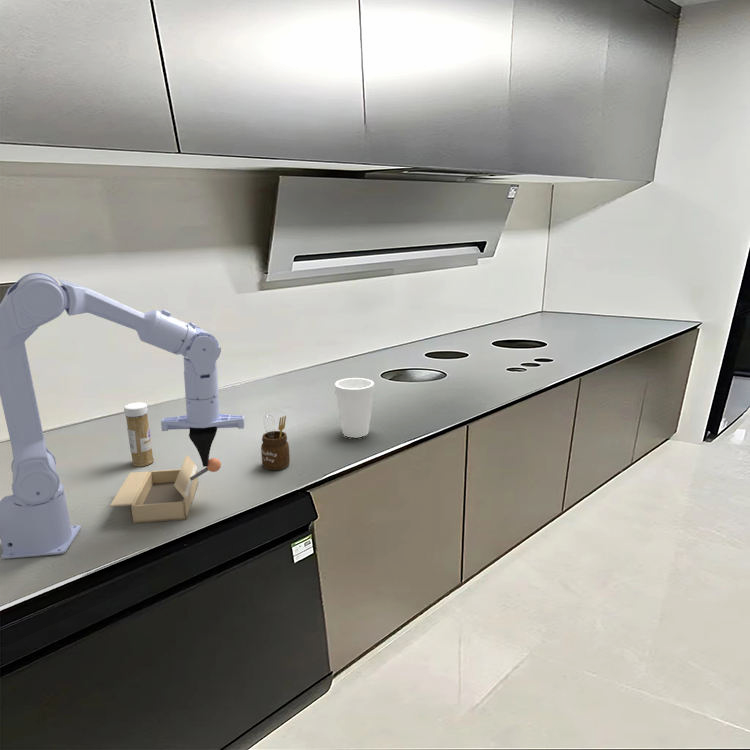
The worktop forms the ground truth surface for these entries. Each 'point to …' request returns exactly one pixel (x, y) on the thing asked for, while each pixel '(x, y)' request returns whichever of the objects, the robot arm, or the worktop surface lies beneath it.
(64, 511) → the robot arm
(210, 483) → the worktop surface
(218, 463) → the flap
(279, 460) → the utensil holder
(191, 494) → the carton
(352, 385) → the foam cup
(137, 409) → the sprinkles bottle
